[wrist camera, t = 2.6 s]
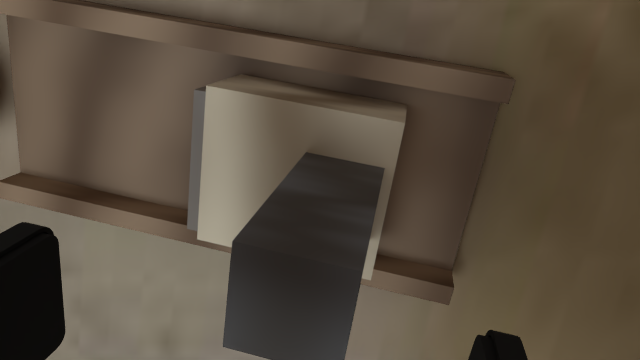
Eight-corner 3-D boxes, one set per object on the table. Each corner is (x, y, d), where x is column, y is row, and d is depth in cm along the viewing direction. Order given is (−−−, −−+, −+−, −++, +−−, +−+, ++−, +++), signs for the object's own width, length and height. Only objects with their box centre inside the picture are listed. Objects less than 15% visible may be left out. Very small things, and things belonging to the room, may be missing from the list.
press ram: (407, 104, 21) (396, 200, 10) (377, 239, 24) (343, 436, 12) (229, 72, 22) (42, 126, 11) (219, 203, 25) (58, 355, 14)
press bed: (503, 72, 21) (515, 79, 19) (445, 275, 25) (448, 305, 23) (23, -10, 25) (-24, -13, 22) (37, 181, 28) (-1, 197, 26)
